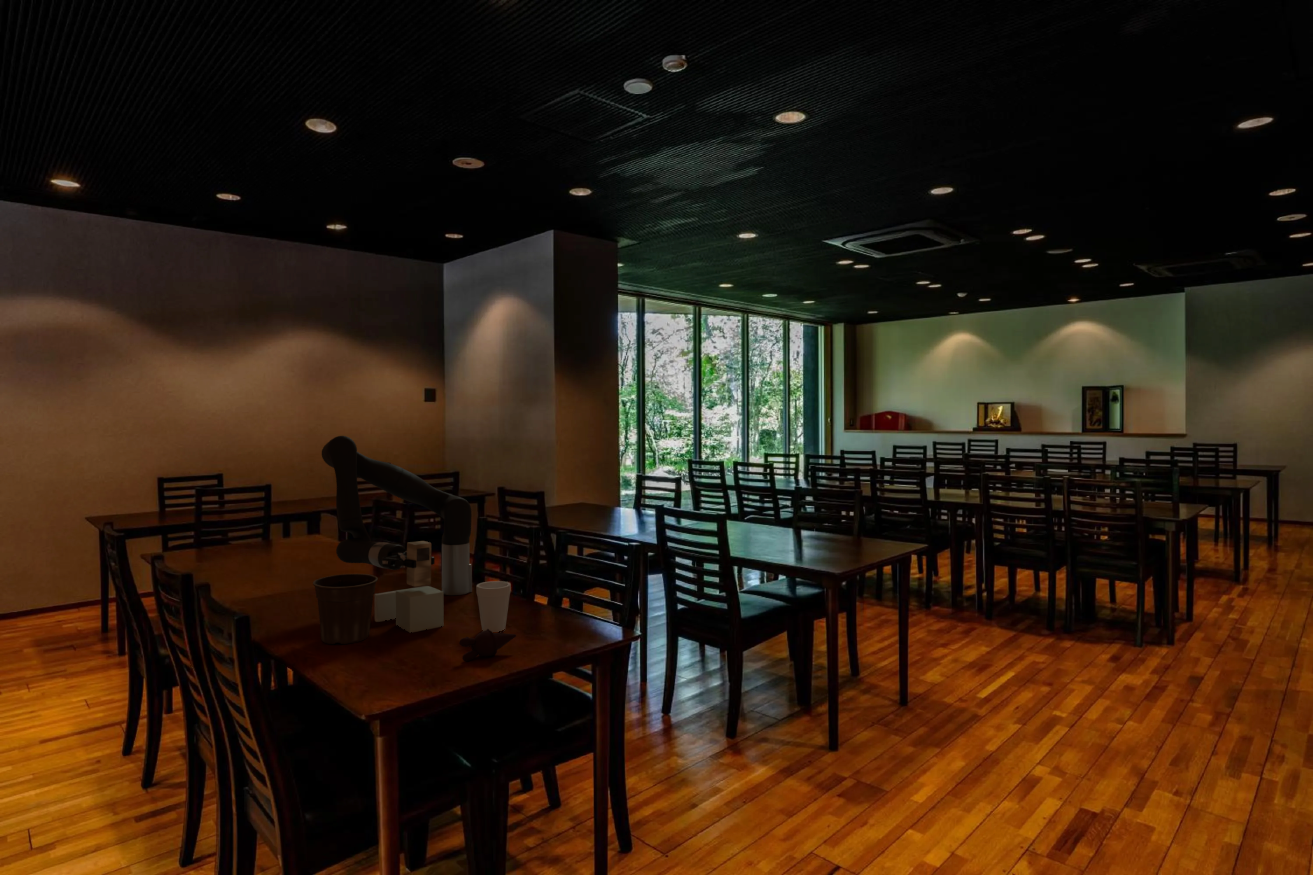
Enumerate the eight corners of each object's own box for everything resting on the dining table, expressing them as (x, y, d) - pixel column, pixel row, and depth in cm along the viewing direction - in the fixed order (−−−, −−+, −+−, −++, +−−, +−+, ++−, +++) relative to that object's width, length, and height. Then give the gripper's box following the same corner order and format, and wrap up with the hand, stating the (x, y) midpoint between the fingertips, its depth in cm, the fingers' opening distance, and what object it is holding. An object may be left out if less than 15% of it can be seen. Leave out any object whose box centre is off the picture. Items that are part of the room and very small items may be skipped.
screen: (426, 611, 224) (426, 585, 224) (429, 612, 223) (428, 586, 222) (374, 620, 213) (374, 593, 213) (377, 622, 212) (377, 595, 212)
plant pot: (390, 635, 199) (390, 577, 199) (338, 651, 185) (338, 589, 185) (352, 626, 207) (352, 571, 207) (300, 641, 194) (300, 581, 193)
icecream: (507, 622, 190) (453, 637, 181) (519, 621, 185) (463, 636, 176) (512, 648, 190) (458, 664, 181) (524, 648, 184) (469, 665, 175)
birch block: (422, 581, 212) (423, 540, 212) (431, 584, 208) (431, 543, 208) (406, 583, 208) (407, 542, 208) (414, 586, 205) (415, 544, 204)
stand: (428, 618, 216) (428, 585, 215) (443, 626, 208) (443, 591, 208) (395, 625, 209) (395, 590, 209) (410, 632, 202) (409, 597, 201)
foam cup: (506, 635, 200) (506, 588, 199) (472, 634, 200) (472, 588, 200) (513, 625, 209) (513, 581, 209) (481, 625, 209) (481, 580, 209)
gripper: (366, 546, 210) (403, 553, 201) (407, 540, 222) (444, 546, 213) (366, 572, 210) (403, 579, 201) (407, 564, 222) (444, 571, 213)
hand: (424, 562), depth 207 cm, fingers closed on birch block, 5 cm apart
